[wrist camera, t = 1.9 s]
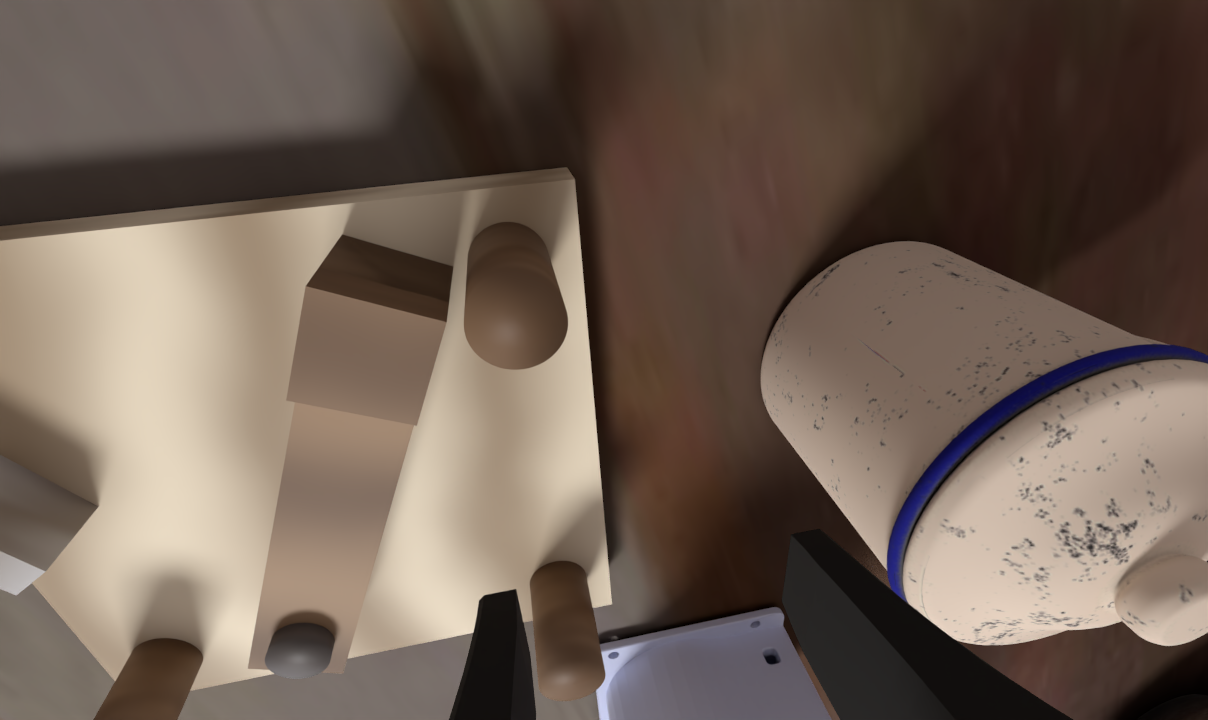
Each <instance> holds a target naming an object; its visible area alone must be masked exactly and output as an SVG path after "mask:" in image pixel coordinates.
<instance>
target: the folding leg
mask: <svg viewBox="0 0 1208 720" xmlns="http://www.w3.org/2000/svg"><path fill="white" fill-rule="evenodd" d="M452 274H453V266H450V265H446V264H443V263H440V262H436V261H433V260H429V259H426V258H422V257H419V256H415V255H412V254H408V253H405V252H401V251H398V250H394V249H391V248H388V247H384V246H381V245H377V244H374V243H370V242H367V241H363V240H360V239H356V238H353V237H349V236H346V235H341V237H340V238H339V240H338V241H337V242H336V244H335V245H334V247H333V248H332V249H331V251H330V252H329V254H328V255H327V257H326V258H325V259H324V261H323V262H322V264H321V265H320V266H319V268H318V269H317V271H316V272H315V274H314V275H313V276H312V278H311V279H310V281H309V282H308V283H307V285H306V287H305V293H304V298H303V304H302V310H301V316H300V322H299V328H298V334H297V340H296V345H295V351H294V357H293V363H292V369H291V375H290V381H289V387H288V393H287V398H286V401H291V402H295V405H294V410H293V416H292V422H291V427H290V433H289V439H288V444H287V450H286V455H285V461H284V467H283V472H282V478H281V484H280V489H279V495H278V500H277V506H276V512H275V517H274V523H273V529H272V534H271V540H270V545H269V551H268V557H267V562H266V568H265V573H264V579H263V585H262V590H261V596H260V602H259V607H258V613H257V618H256V624H255V630H254V635H253V641H252V647H251V652H250V658H249V663H248V669H262V670H270V671H271V672H273V673H274V674H276V675H279V676H281V677H285V678H293V679H300V678H308V677H312V676H315V675H317V674H319V673H341V674H343V672H344V669H345V665H346V662H347V658H348V655H349V651H350V648H351V644H352V641H353V637H354V634H355V630H356V627H357V623H358V620H359V616H360V613H361V609H362V606H363V602H364V599H365V595H366V592H367V588H368V585H369V581H370V578H371V574H372V571H373V567H374V564H375V560H376V557H377V553H378V550H379V546H380V543H381V539H382V536H383V532H384V529H385V525H386V522H387V518H388V515H389V511H390V508H391V504H392V501H393V497H394V494H395V490H396V487H397V483H398V480H399V476H400V473H401V469H402V466H403V462H404V459H405V455H406V452H407V448H408V444H409V441H410V437H411V434H412V430H413V427H414V425H415V426H417V424H418V420H419V417H420V413H421V410H422V406H423V403H424V399H425V396H426V392H427V389H428V386H429V382H430V379H431V375H432V372H433V368H434V365H435V361H436V358H437V354H438V351H439V347H440V344H441V340H442V337H443V333H444V330H445V327H446V323H447V316H448V308H449V299H450V291H451V283H452Z"/></svg>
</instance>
